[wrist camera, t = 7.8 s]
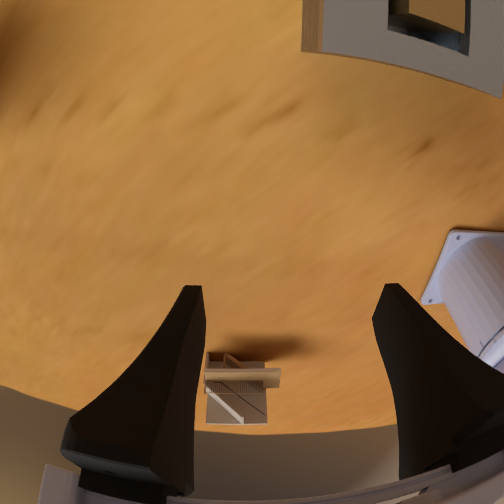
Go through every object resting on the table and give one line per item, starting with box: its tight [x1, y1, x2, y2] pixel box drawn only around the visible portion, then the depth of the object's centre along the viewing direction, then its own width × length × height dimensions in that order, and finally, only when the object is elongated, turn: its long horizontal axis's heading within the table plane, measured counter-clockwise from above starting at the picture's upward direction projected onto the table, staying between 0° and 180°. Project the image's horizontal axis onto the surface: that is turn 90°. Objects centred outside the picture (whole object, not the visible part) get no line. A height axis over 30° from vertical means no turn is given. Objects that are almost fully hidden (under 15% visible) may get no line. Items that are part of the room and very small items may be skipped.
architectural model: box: [204, 352, 281, 425], centre depth 27 cm, size 3×7×7 cm, turn 90°
